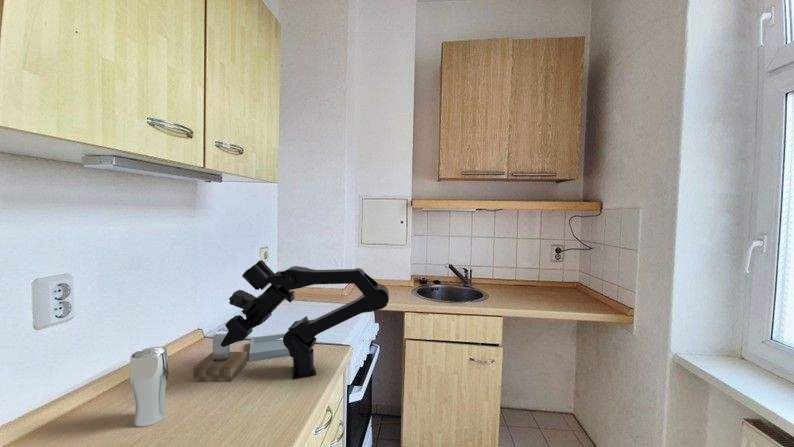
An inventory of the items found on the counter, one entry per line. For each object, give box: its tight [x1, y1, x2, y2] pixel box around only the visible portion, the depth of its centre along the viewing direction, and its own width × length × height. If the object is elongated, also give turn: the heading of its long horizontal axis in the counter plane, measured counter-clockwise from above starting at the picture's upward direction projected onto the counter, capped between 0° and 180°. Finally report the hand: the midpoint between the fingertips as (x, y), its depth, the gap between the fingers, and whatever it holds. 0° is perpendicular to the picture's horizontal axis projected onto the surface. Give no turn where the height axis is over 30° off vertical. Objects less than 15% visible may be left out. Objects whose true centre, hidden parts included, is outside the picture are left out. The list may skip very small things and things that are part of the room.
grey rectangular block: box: [212, 333, 231, 361], centre depth 96 cm, size 4×2×11 cm, turn 91°
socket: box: [193, 351, 248, 383], centre depth 96 cm, size 10×10×4 cm
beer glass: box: [129, 346, 170, 428], centre depth 74 cm, size 7×7×15 cm
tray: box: [248, 332, 291, 362], centre depth 112 cm, size 14×14×2 cm
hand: (230, 339), depth 95 cm, fingers open, 9 cm apart
